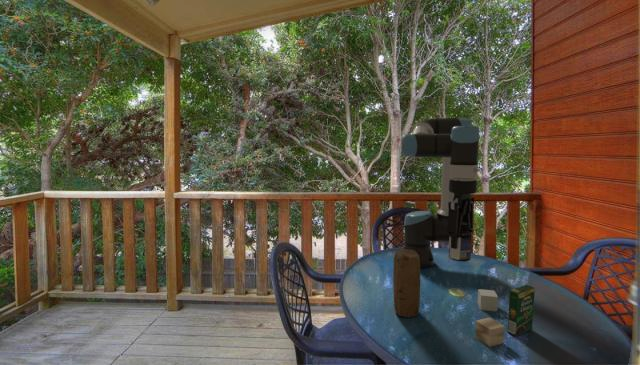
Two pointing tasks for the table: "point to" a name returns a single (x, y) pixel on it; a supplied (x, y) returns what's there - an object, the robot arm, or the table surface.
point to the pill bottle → (464, 243)
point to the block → (406, 282)
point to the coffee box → (521, 310)
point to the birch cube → (489, 331)
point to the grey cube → (487, 300)
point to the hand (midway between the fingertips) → (459, 255)
